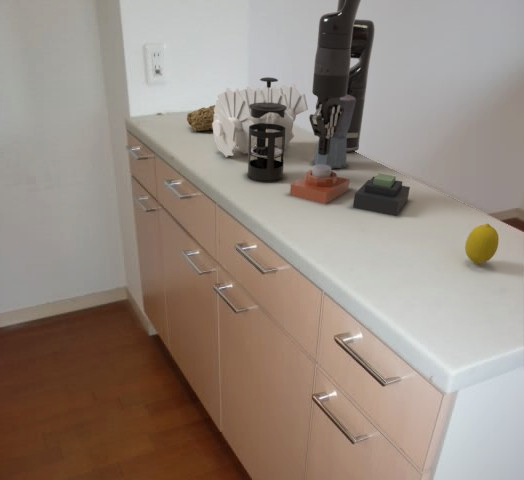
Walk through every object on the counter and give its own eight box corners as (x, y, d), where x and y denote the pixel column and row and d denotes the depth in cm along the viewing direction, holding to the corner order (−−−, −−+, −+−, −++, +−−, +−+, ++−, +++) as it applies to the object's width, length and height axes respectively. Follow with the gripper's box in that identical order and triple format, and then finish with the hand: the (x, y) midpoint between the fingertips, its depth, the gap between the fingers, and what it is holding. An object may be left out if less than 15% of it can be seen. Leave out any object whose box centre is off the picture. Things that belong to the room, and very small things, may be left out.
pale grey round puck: (317, 171, 133) (318, 163, 132) (333, 175, 131) (334, 166, 130) (308, 176, 130) (309, 167, 129) (325, 180, 128) (325, 171, 127)
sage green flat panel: (377, 180, 127) (378, 173, 126) (394, 183, 126) (395, 176, 125) (372, 185, 124) (374, 178, 123) (390, 188, 123) (391, 181, 122)
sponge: (198, 139, 173) (255, 121, 177) (190, 112, 169) (249, 95, 173) (187, 136, 184) (241, 119, 188) (180, 111, 180) (236, 95, 184)
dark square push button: (366, 193, 133) (369, 172, 131) (407, 201, 130) (411, 180, 127) (352, 208, 125) (355, 186, 122) (396, 216, 122) (400, 194, 119)
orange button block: (314, 182, 139) (315, 164, 136) (348, 190, 135) (350, 171, 132) (289, 195, 131) (291, 176, 128) (325, 204, 127) (327, 184, 124)
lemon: (456, 257, 106) (466, 218, 101) (484, 257, 106) (495, 218, 101) (467, 271, 101) (478, 230, 96) (496, 270, 102) (509, 230, 97)
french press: (288, 182, 138) (295, 82, 125) (252, 184, 136) (254, 82, 122) (276, 168, 147) (281, 73, 134) (242, 169, 145) (243, 73, 132)
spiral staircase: (211, 168, 158) (282, 152, 169) (239, 155, 143) (315, 139, 154) (193, 101, 154) (268, 89, 164) (220, 81, 138) (300, 70, 149)
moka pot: (352, 160, 156) (362, 82, 144) (341, 176, 144) (350, 93, 132) (320, 155, 158) (327, 79, 146) (305, 171, 146) (312, 89, 134)
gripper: (333, 77, 111) (324, 163, 121) (360, 69, 120) (350, 151, 130) (300, 72, 114) (295, 157, 124) (330, 65, 124) (322, 145, 134)
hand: (323, 154), depth 127 cm, fingers closed
